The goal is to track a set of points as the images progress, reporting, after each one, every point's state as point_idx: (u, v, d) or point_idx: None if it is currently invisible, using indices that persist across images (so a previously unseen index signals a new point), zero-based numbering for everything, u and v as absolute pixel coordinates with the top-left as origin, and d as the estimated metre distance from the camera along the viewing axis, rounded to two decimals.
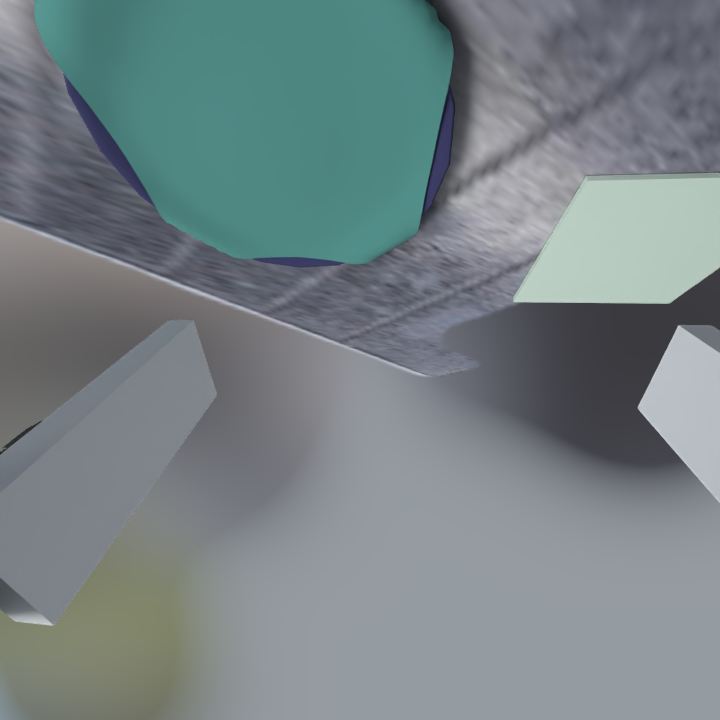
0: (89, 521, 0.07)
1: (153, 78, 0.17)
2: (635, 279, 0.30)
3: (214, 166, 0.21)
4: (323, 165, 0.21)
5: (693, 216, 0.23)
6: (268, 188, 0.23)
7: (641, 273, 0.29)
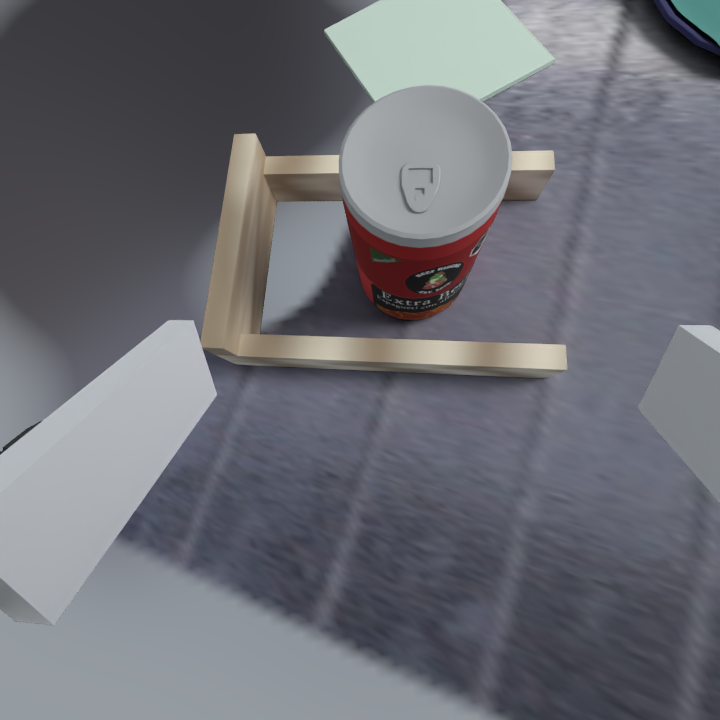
0: (89, 521, 0.07)
1: None
2: (396, 29, 0.31)
3: None
4: None
5: (447, 80, 0.29)
6: None
7: (400, 35, 0.30)
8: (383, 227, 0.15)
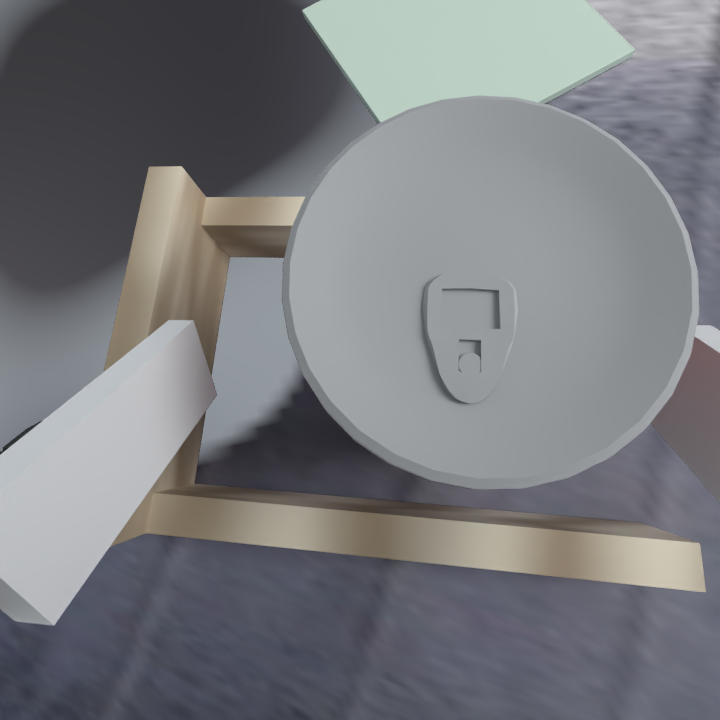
0: (89, 521, 0.07)
1: None
2: (403, 9, 0.22)
3: None
4: None
5: (477, 81, 0.20)
6: None
7: (409, 17, 0.22)
8: (383, 450, 0.06)
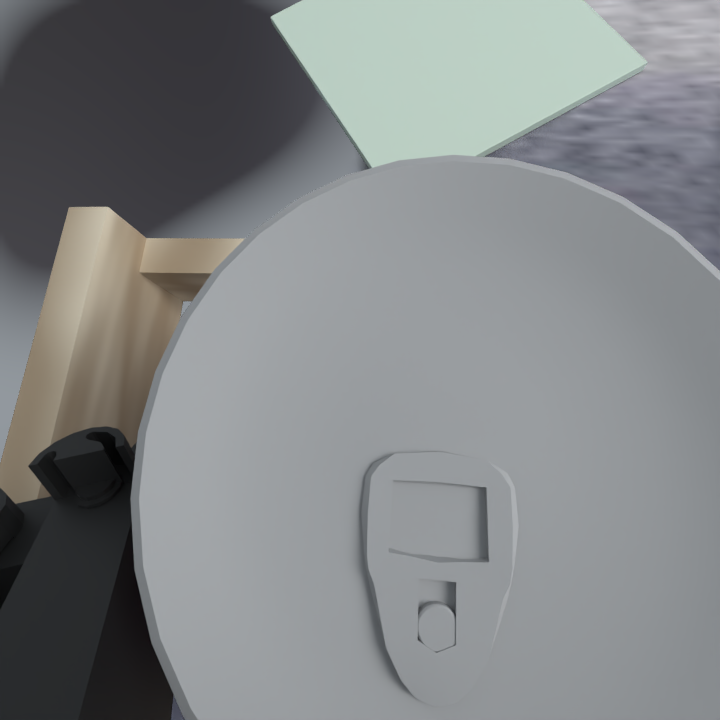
0: None
1: None
2: (383, 16, 0.19)
3: None
4: None
5: (467, 98, 0.18)
6: None
7: (390, 25, 0.19)
8: None
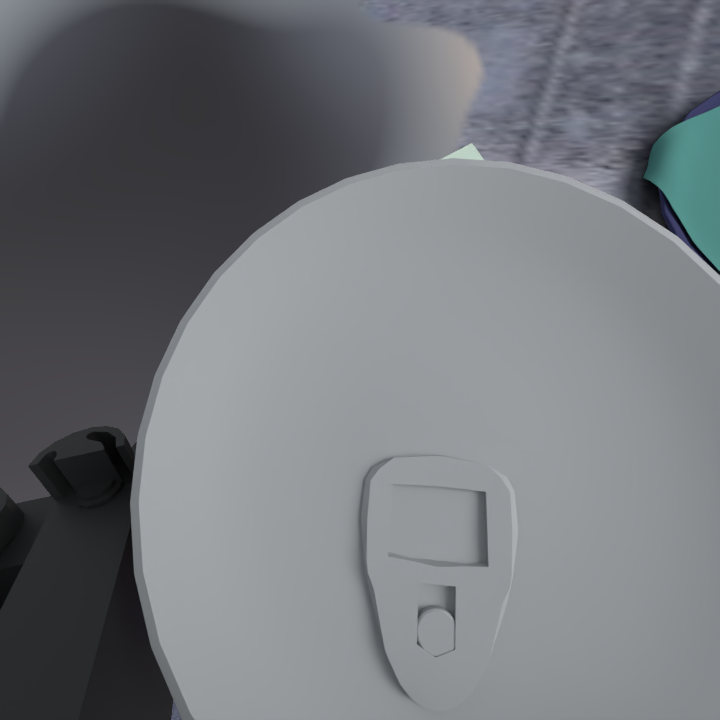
0: None
1: None
2: None
3: None
4: None
5: None
6: None
7: None
8: None
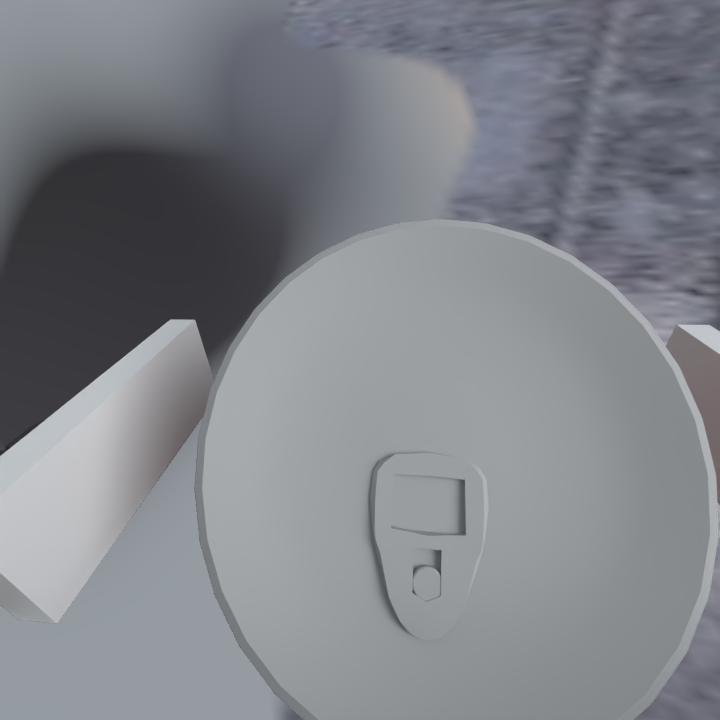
0: (92, 520, 0.07)
1: None
2: None
3: None
4: None
5: None
6: None
7: None
8: (311, 718, 0.05)
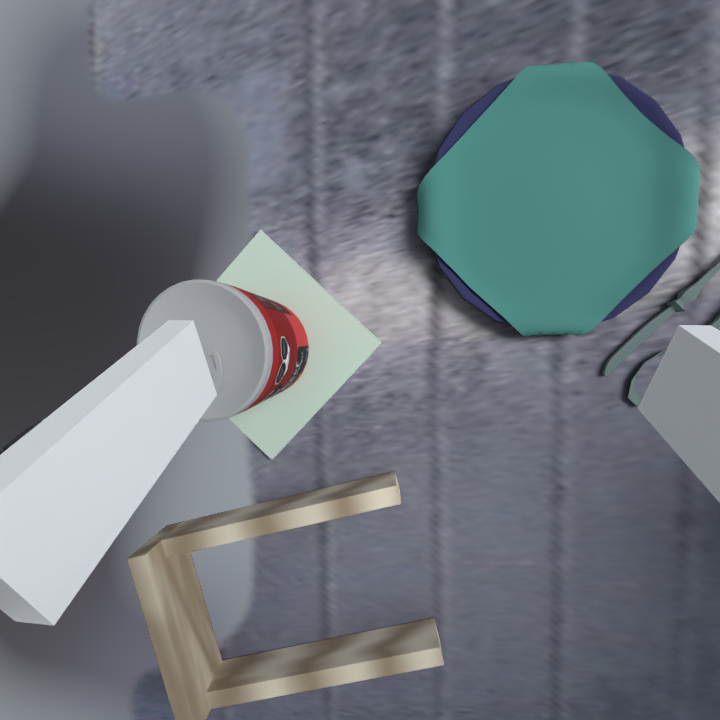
0: (89, 521, 0.07)
1: (635, 187, 0.27)
2: None
3: (579, 155, 0.27)
4: (520, 224, 0.28)
5: (291, 387, 0.30)
6: (538, 172, 0.28)
7: None
8: None
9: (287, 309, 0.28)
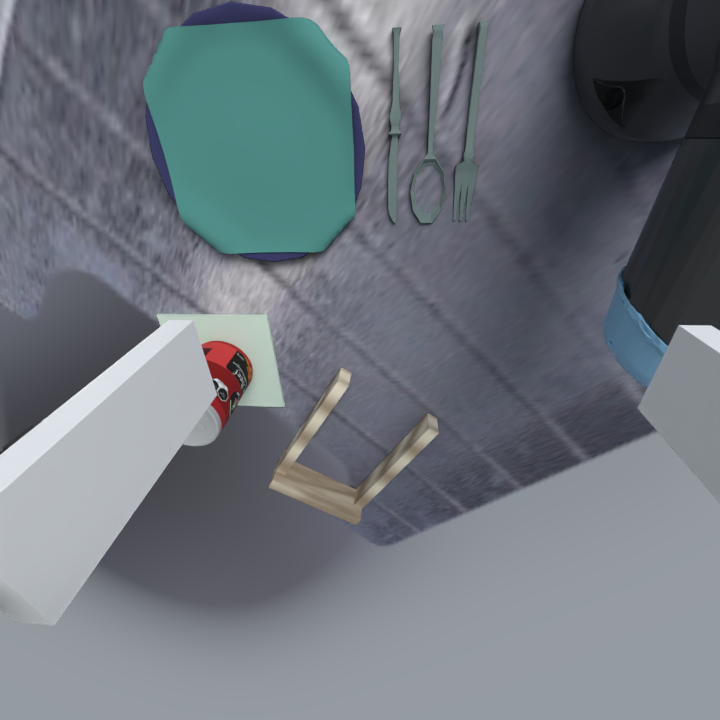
0: (89, 521, 0.07)
1: (287, 81, 0.29)
2: None
3: (235, 100, 0.31)
4: (255, 186, 0.34)
5: (255, 371, 0.47)
6: (228, 141, 0.32)
7: None
8: (208, 443, 0.39)
9: (208, 346, 0.43)
